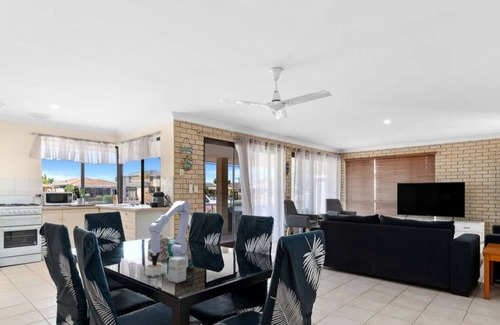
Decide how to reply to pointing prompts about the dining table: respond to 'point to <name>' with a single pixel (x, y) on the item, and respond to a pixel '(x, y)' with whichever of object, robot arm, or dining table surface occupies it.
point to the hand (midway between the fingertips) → (154, 265)
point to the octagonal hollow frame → (154, 270)
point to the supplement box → (177, 269)
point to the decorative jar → (161, 248)
